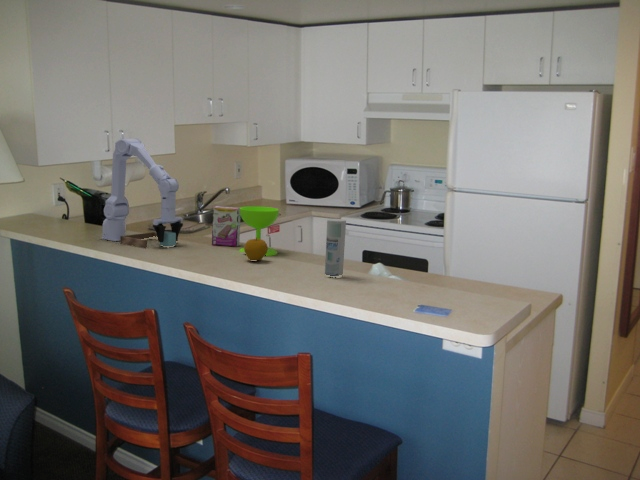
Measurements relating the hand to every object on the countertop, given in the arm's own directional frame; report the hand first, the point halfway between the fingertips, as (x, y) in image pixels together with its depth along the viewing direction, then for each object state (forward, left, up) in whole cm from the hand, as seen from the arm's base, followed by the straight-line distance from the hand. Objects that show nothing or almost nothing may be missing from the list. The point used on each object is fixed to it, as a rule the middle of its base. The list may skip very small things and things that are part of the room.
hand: (167, 241), depth 274 cm
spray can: (+80, +2, -3) cm, 80 cm away
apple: (+44, +3, -3) cm, 44 cm away
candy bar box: (+13, +21, -3) cm, 25 cm away
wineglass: (+33, +18, -3) cm, 38 cm away
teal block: (0, 0, -2) cm, 2 cm away
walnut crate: (-11, 0, -2) cm, 11 cm away
